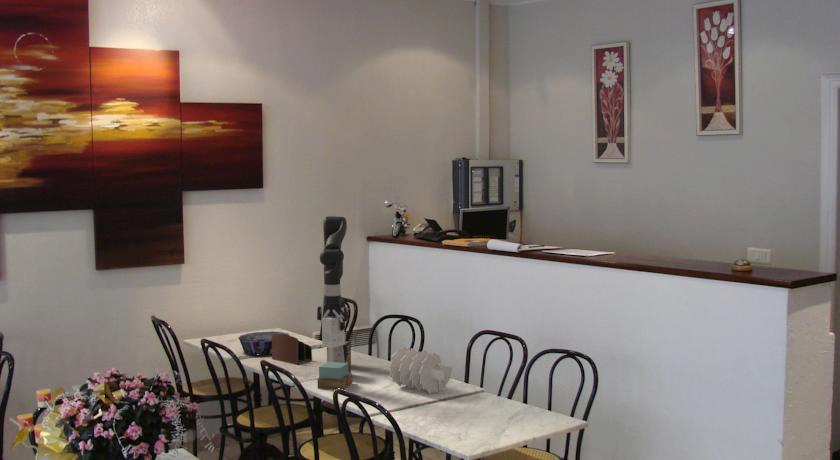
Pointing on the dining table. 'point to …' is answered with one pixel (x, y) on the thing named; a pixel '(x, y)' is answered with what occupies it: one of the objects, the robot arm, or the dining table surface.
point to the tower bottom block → (335, 382)
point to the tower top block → (333, 370)
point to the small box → (332, 332)
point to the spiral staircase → (419, 370)
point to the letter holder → (290, 349)
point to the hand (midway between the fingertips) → (333, 329)
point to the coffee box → (343, 354)
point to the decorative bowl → (258, 342)
